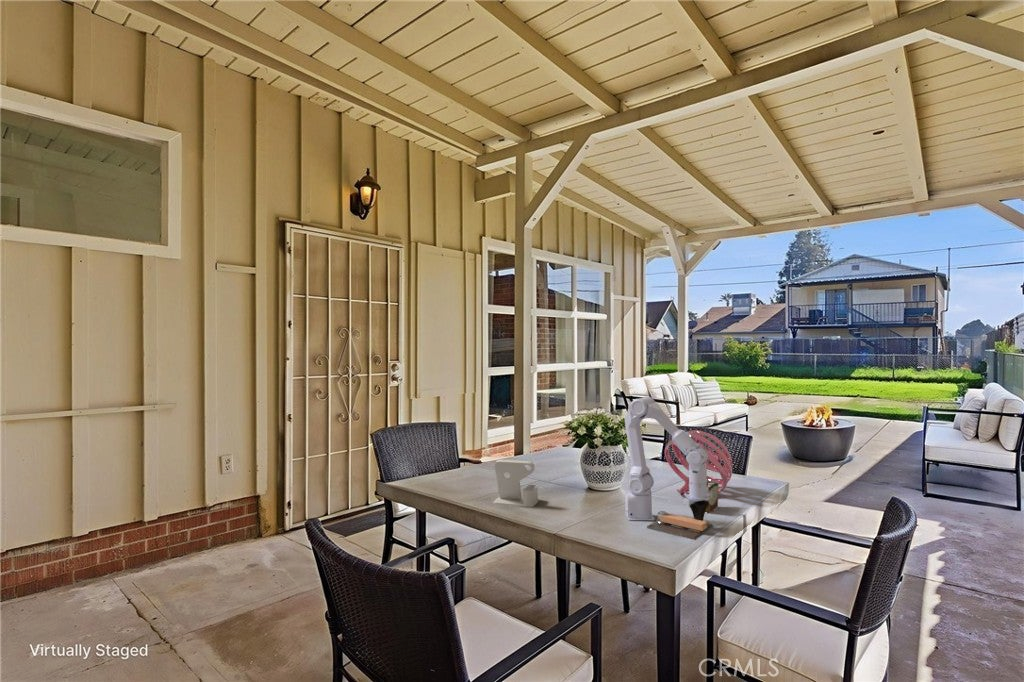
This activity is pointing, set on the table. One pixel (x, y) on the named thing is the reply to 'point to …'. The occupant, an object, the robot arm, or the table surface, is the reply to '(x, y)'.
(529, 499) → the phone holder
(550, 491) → the table surface
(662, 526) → the label plate
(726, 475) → the spiral basket
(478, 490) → the table surface
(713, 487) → the food container
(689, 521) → the swing bar
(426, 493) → the table surface
